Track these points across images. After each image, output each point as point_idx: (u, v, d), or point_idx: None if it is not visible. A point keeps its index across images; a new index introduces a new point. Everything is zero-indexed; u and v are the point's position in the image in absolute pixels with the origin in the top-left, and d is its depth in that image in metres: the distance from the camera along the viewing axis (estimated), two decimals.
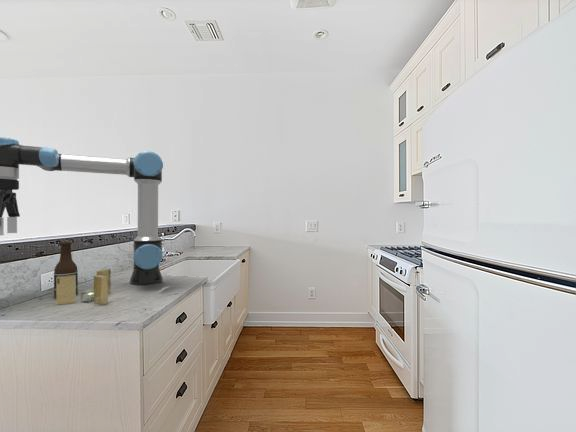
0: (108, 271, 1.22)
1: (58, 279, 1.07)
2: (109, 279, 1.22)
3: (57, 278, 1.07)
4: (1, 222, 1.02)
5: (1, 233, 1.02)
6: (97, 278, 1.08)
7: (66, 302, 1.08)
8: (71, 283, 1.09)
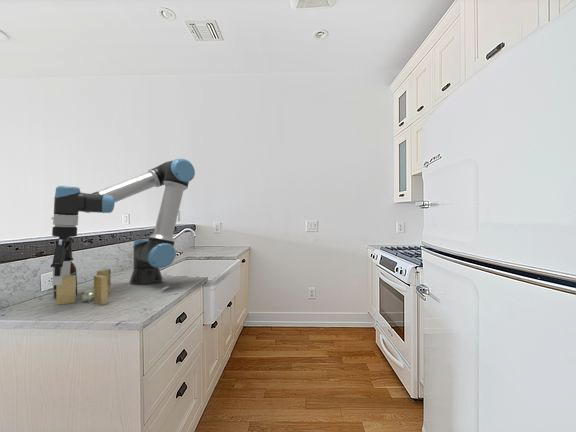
0: (108, 271, 1.22)
1: None
2: (109, 279, 1.22)
3: None
4: (61, 271, 1.02)
5: (60, 282, 1.02)
6: (97, 278, 1.08)
7: (66, 302, 1.08)
8: (71, 283, 1.09)
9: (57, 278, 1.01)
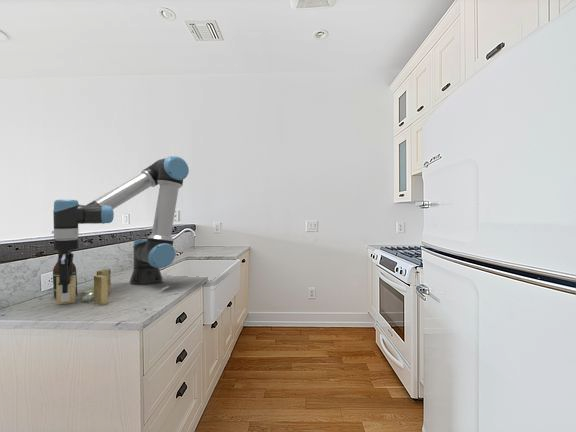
0: (108, 271, 1.22)
1: (58, 279, 1.07)
2: (109, 279, 1.22)
3: (57, 278, 1.07)
4: (68, 288, 1.08)
5: (68, 299, 1.08)
6: (97, 278, 1.08)
7: (66, 302, 1.08)
8: (71, 283, 1.09)
9: (65, 295, 1.07)
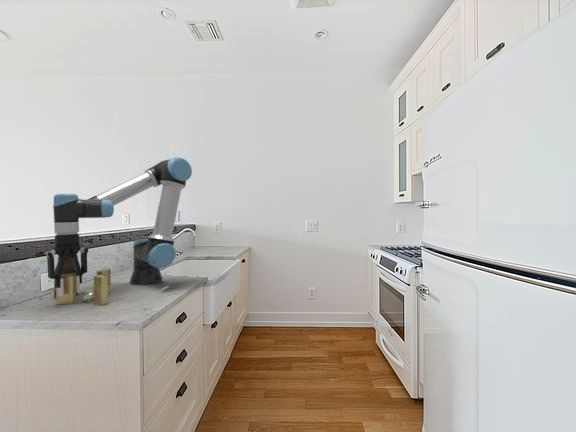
0: (108, 271, 1.22)
1: None
2: (109, 279, 1.22)
3: None
4: (60, 284, 1.05)
5: (60, 294, 1.06)
6: (97, 278, 1.08)
7: (65, 302, 1.08)
8: (69, 283, 1.08)
9: (59, 289, 1.06)
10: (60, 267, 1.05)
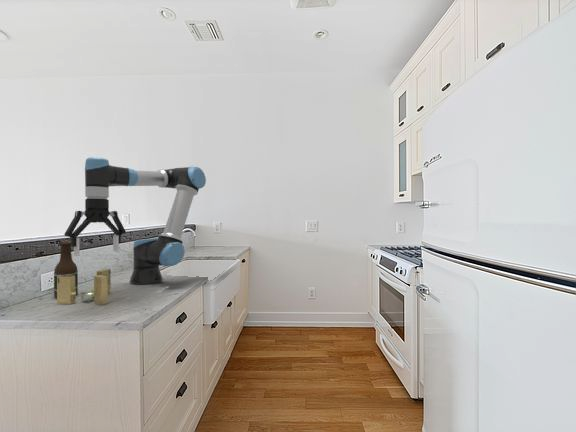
0: (108, 271, 1.22)
1: (58, 278, 1.08)
2: (109, 279, 1.22)
3: (57, 277, 1.08)
4: (76, 243, 1.02)
5: (76, 254, 1.02)
6: (97, 278, 1.08)
7: (64, 302, 1.08)
8: (67, 284, 1.07)
9: (75, 249, 1.02)
10: (82, 227, 1.03)
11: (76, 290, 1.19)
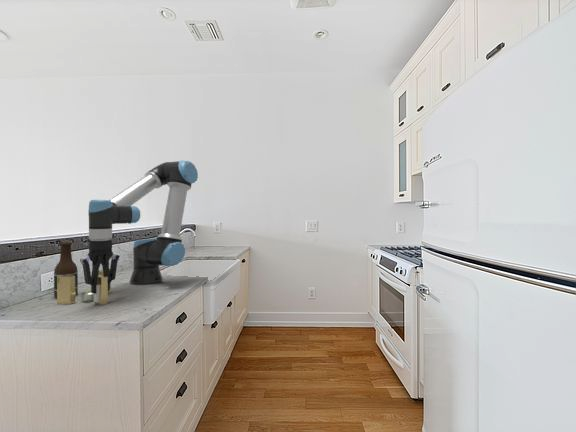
0: None
1: (58, 278, 1.08)
2: None
3: (57, 277, 1.08)
4: (96, 289, 1.06)
5: (96, 300, 1.07)
6: None
7: (64, 302, 1.08)
8: (67, 284, 1.07)
9: (95, 295, 1.07)
10: (95, 273, 1.06)
11: (76, 290, 1.19)
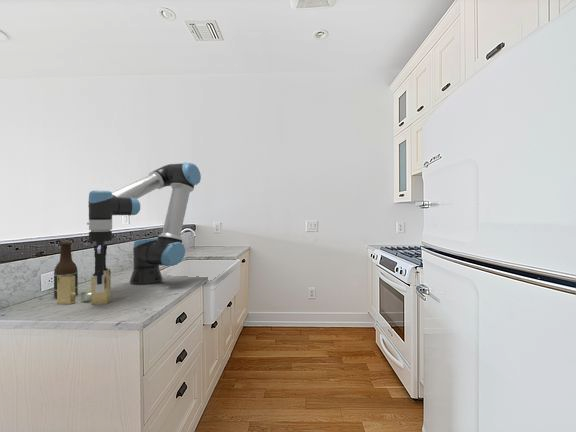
0: (108, 271, 1.22)
1: (58, 278, 1.08)
2: None
3: (57, 277, 1.08)
4: (102, 279, 1.05)
5: (102, 290, 1.05)
6: None
7: (64, 302, 1.08)
8: (67, 284, 1.07)
9: (99, 286, 1.05)
10: (103, 263, 1.06)
11: (76, 290, 1.19)
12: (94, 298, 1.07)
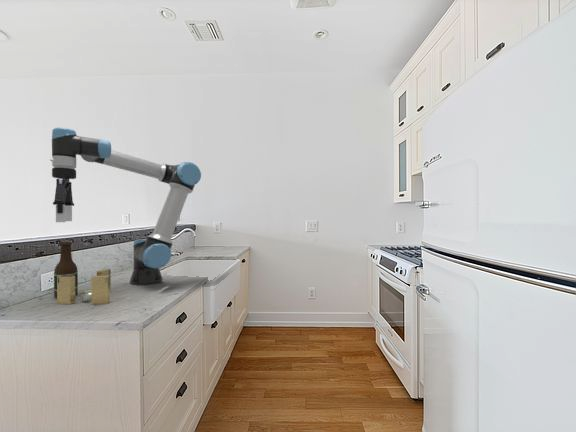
0: (108, 271, 1.22)
1: (58, 278, 1.08)
2: None
3: (57, 277, 1.08)
4: (63, 209, 1.06)
5: (63, 220, 1.06)
6: (99, 278, 1.07)
7: (64, 302, 1.08)
8: (67, 284, 1.07)
9: (60, 216, 1.05)
10: (65, 195, 1.07)
11: (76, 290, 1.19)
12: (94, 298, 1.07)
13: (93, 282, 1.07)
